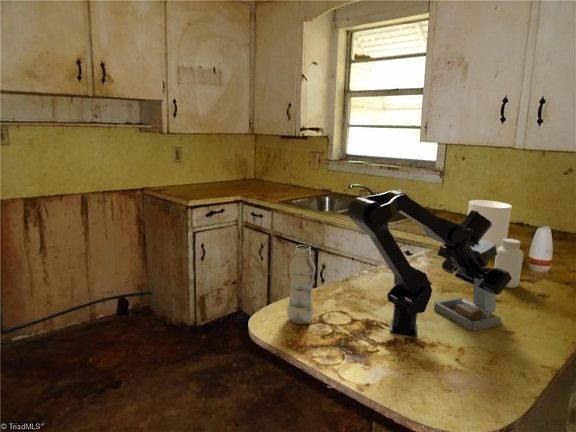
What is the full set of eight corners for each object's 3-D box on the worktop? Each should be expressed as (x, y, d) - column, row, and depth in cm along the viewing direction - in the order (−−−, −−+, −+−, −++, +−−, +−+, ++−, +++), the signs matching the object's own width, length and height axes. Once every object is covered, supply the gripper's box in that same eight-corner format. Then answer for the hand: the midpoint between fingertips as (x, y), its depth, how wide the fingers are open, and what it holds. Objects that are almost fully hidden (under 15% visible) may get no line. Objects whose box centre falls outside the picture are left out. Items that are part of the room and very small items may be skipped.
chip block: (469, 323, 113) (470, 312, 112) (454, 314, 117) (456, 304, 117) (480, 320, 115) (481, 310, 114) (465, 312, 119) (467, 302, 118)
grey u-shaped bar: (471, 331, 108) (472, 324, 108) (432, 308, 120) (433, 302, 120) (499, 324, 112) (500, 318, 112) (459, 303, 124) (460, 297, 124)
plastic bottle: (297, 313, 114) (300, 241, 110) (317, 321, 110) (321, 247, 106) (281, 321, 109) (284, 247, 105) (302, 330, 105) (306, 253, 101)
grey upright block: (486, 322, 113) (487, 285, 110) (460, 308, 121) (460, 273, 118) (503, 315, 116) (504, 278, 112) (476, 302, 124) (477, 267, 120)
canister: (492, 245, 187) (499, 200, 182) (512, 257, 171) (520, 208, 166) (456, 244, 186) (462, 199, 182) (473, 255, 170) (480, 207, 166)
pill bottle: (496, 277, 147) (503, 235, 144) (521, 284, 142) (529, 241, 138) (487, 283, 142) (494, 239, 138) (513, 290, 136) (521, 245, 133)
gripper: (512, 242, 103) (535, 279, 110) (454, 223, 120) (478, 257, 127) (484, 276, 102) (509, 311, 109) (429, 253, 118) (454, 285, 125)
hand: (487, 289), depth 117 cm, fingers closed on grey upright block, 4 cm apart
